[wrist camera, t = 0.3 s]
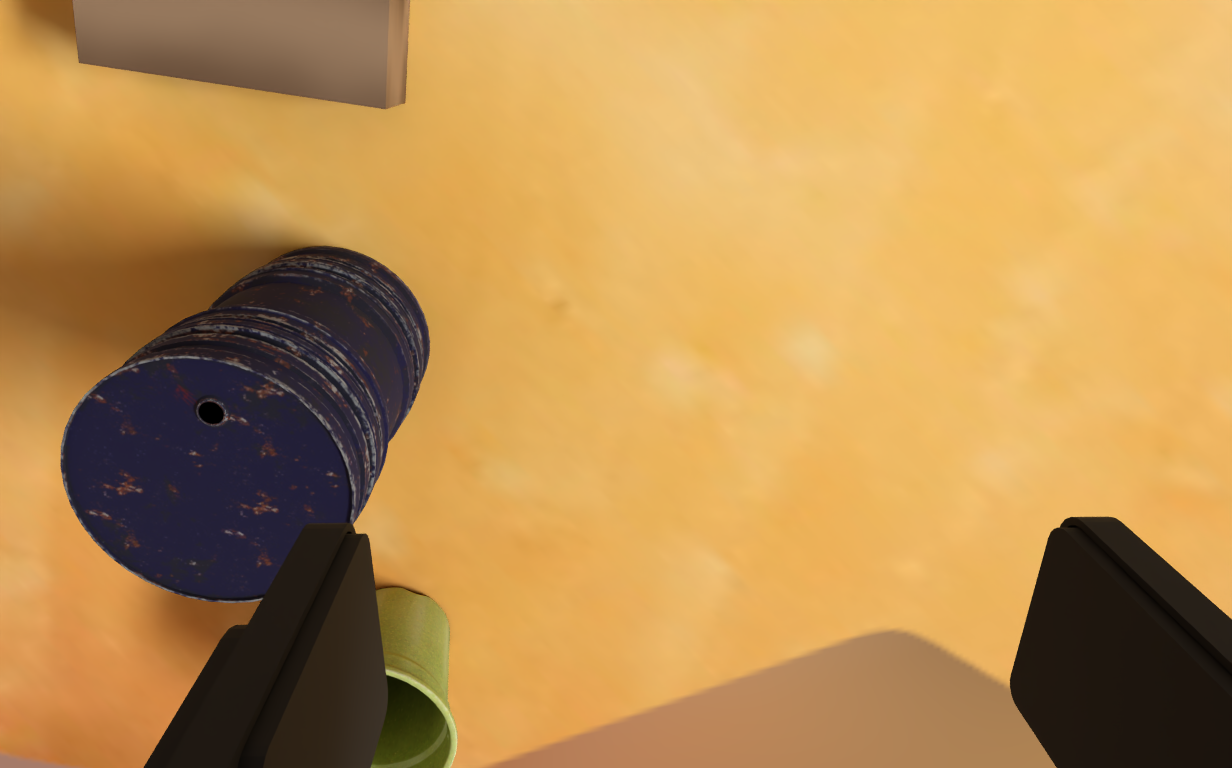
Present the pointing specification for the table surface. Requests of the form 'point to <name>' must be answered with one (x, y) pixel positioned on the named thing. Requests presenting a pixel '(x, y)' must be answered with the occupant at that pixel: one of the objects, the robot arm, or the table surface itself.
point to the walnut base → (256, 44)
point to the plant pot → (415, 683)
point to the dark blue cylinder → (248, 424)
